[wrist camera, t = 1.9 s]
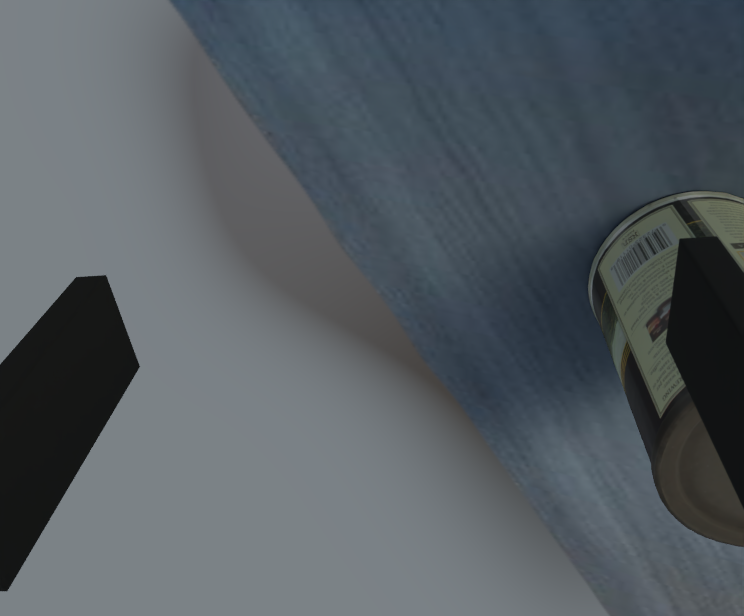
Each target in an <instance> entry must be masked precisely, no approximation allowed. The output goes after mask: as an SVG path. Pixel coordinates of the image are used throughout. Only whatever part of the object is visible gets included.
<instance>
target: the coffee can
mask: <svg viewBox="0 0 744 616" xmlns="http://www.w3.org/2000/svg"><path fill="white" fill-rule="evenodd" d="M713 236H717V237H718V238H719V240H720V241H721V242H722V244H723V245H724V246H725V248H726V249H727V250H728V252H729V253H730V254H731V256H732V257H733V259H734V260H735V261H736V263H737V264H738V265H739V267H740V268H741V269H742V271H743V272H744V199H742V198H740V197H737V196H733V195H730V194H728V193H723V192H710V191H696V192H686V193H681V194H676V195H672V196H669V197H665V198H662V199H660V200H657V201H655V202H653V203H650V204H648V205H646V206H644V207H643V208H641V209H640V210H638V211H637V212H635V213H634V214H632V215H631V216H629V217H628V218H626V219H625V220H624V221H623V222H622V223H620V224H619V225H618V226H617V227H616V228H615V229H614V230H613V231H612V232H611V234H610V235H609V236H608V237H607V238H606V240H605V241H604V243H603V244H602V246H601V247H600V249H599V251H598V253H597V255H596V256H595V258H594V261H593V264H592V267H591V271H590V275H589V283H588V292H589V299H590V304H591V307H592V310H593V312H594V315H595V317H596V319H597V320H598V322H599V324H600V327H601V330H602V332H603V335H604V338H605V340H606V342H607V346H608V348H609V351H610V354H611V356H612V359H613V362H614V365H615V367H616V370H617V372H618V375H619V378H620V380H621V383H622V386H623V388H624V391H625V393H626V396H627V399H628V402H629V405H630V408H631V410H632V413H633V416H634V418H635V421H636V424H637V427H638V429H639V432H640V435H641V438H642V440H643V442H644V445H645V448H646V451H647V453H648V456H649V459H650V462H651V469H652V475H653V479H654V483H655V486H656V489H657V491H658V494H659V496H660V498H661V500H662V502H663V503H664V505H665V506H666V508H667V509H668V511H669V512H670V513H671V514H672V515H673V516H674V517H675V518H676V519H677V520H678V521H679V522H680V523H682V524H683V525H684V526H685V527H687V528H688V529H690V530H692V531H694V532H695V533H697V534H699V535H702V536H704V537H706V538H709V539H712V540H715V541H718V542H722V543H726V544H730V545H735V546H741V547H744V509H743V507H742V505H741V502H740V500H739V498H738V496H737V494H736V492H735V490H734V488H733V485H732V483H731V481H730V479H729V477H728V475H727V473H726V471H725V468H724V466H723V464H722V462H721V460H720V458H719V456H718V453H717V451H716V449H715V447H714V445H713V443H712V441H711V439H710V436H709V434H708V432H707V430H706V428H705V426H704V424H703V422H702V419H701V417H700V415H699V413H698V411H697V409H696V407H695V405H694V402H693V400H692V398H691V396H690V394H689V392H688V390H687V387H686V385H685V383H684V381H683V379H682V377H681V375H680V373H679V370H678V368H677V366H676V364H675V362H674V360H673V358H672V356H671V353H670V351H669V349H668V347H667V345H666V335H667V328H668V320H669V313H670V306H671V298H672V291H673V283H674V276H675V268H676V261H677V253H678V246H679V239H681V238H697V237H713Z"/></svg>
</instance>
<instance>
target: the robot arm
mask: <svg viewBox="0 0 744 616" xmlns="http://www.w3.org/2000/svg"><path fill="white" fill-rule="evenodd" d="M666 345H667V347H668V349H669V351H670V353H671V356H672V358H673V360H674V362H675V364H676V366H677V368H678V370H679V373H680V375H681V377H682V379H683V381H684V383H685V385H686V387H687V390H688V392H689V394H690V396H691V398H692V400H693V402H694V405H695V407H696V409H697V411H698V413H699V415H700V417H701V419H702V422H703V424H704V426H705V428H706V430H707V432H708V434H709V436H710V439H711V441H712V443H713V445H714V447H715V449H716V451H717V453H718V456H719V458H720V460H721V462H722V464H723V466H724V468H725V471H726V473H727V475H728V477H729V479H730V481H731V483H732V485H733V488H734V490H735V492H736V494H737V496H738V498H739V500H740V502H741V505H742V507H743V509H744V272H743V271H742V269H741V268H740V267H739V265H738V264H737V263H736V261H735V260H734V259H733V257H732V256H731V254H730V253H729V252H728V250H727V249H726V248H725V246H724V245H723V244H722V242H721V241H720V240H719V238H718V237H717V236H713V237H697V238H681V239H679V246H678V253H677V261H676V268H675V276H674V283H673V291H672V298H671V306H670V313H669V320H668V328H667V335H666ZM139 367H140V366H139V363H138V361H137V358H136V355H135V353H134V350H133V347H132V344H131V342H130V339H129V336H128V334H127V331H126V328H125V325H124V323H123V320H122V317H121V315H120V312H119V309H118V306H117V304H116V301H115V298H114V296H113V293H112V290H111V288H110V285H109V283H108V279H107V277H106V275H104V276H88V277H76V278H75V279H74V281H73V282H72V283H71V284H70V285H69V286H68V287H67V288H66V290H65V291H64V292H63V293H62V294H61V295H60V297H59V298H58V299H57V300H56V301H55V302H54V303H53V305H52V306H51V307H50V308H49V309H48V310H47V311H46V313H45V314H44V315H43V316H42V317H41V318H40V319H39V321H38V322H37V323H36V324H35V325H34V326H33V328H32V329H31V330H30V331H29V332H28V334H26V336H25V337H24V338H23V339H22V340H21V341H20V342H19V344H18V345H17V346H16V347H15V348H14V349H13V350H12V352H11V353H10V354H9V355H8V356H7V357H6V359H5V360H4V361H3V362H2V363H1V364H0V591H7V590H8V589H9V587H10V586H11V584H12V582H13V580H14V579H15V577H16V575H17V574H18V572H19V570H20V569H21V567H22V565H23V563H24V562H25V560H26V558H27V557H28V555H29V553H30V552H31V550H32V548H33V546H34V545H35V543H36V542H37V540H38V538H39V536H40V535H41V533H42V531H43V530H44V528H45V526H46V525H47V523H48V521H49V520H50V518H51V516H52V514H53V513H54V511H55V509H56V508H57V506H58V504H59V503H60V501H61V499H62V497H63V496H64V494H65V492H66V491H67V489H68V487H69V486H70V484H71V482H72V481H73V479H74V477H75V475H76V474H77V472H78V470H79V469H80V467H81V465H82V464H83V462H84V460H85V459H86V457H87V455H88V454H89V452H90V450H91V448H92V447H93V445H94V443H95V442H96V440H97V438H98V436H99V435H100V433H101V431H102V430H103V428H104V426H105V425H106V423H107V421H108V420H109V418H110V416H111V415H112V413H113V411H114V409H115V408H116V406H117V404H118V403H119V401H120V399H121V398H122V396H123V394H124V392H125V391H126V389H127V387H128V386H129V384H130V382H131V381H132V379H133V377H134V375H135V374H136V372H137V371H138V368H139Z"/></svg>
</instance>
